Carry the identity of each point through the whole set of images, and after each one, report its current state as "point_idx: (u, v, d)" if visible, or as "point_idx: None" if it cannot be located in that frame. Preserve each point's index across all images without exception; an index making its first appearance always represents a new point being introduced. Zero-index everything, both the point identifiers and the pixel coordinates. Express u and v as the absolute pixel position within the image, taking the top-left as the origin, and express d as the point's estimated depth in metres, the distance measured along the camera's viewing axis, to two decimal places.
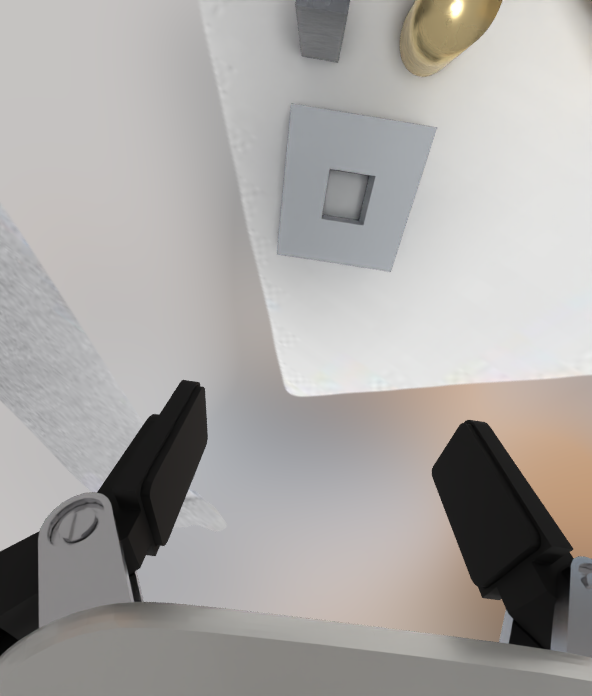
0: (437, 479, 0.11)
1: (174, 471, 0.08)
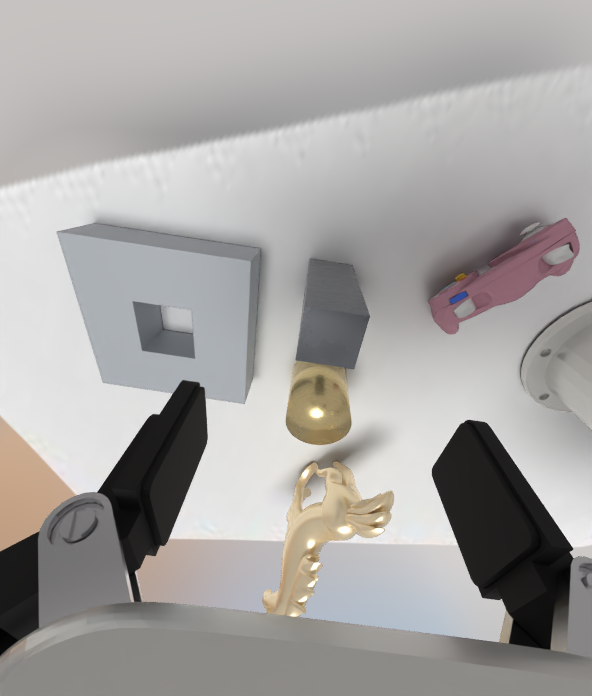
0: (437, 479, 0.11)
1: (174, 471, 0.08)
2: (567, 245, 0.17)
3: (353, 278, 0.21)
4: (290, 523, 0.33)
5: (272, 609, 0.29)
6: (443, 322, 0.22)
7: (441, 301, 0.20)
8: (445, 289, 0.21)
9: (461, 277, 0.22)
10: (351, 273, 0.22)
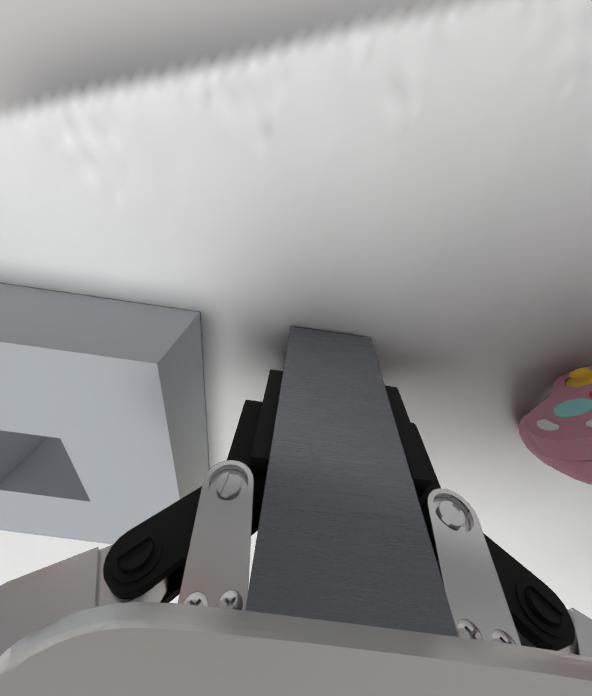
0: None
1: None
2: None
3: (379, 394, 0.09)
4: None
5: None
6: (558, 470, 0.11)
7: (572, 449, 0.10)
8: (575, 419, 0.10)
9: (586, 378, 0.12)
10: (372, 372, 0.10)
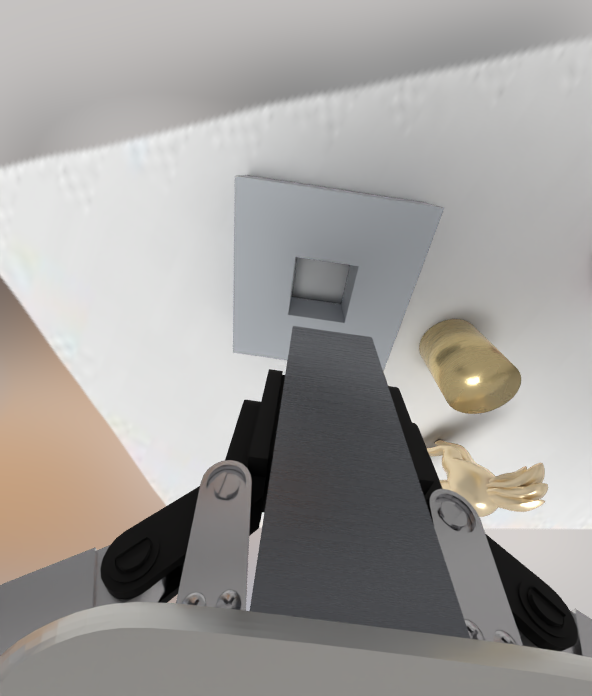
0: None
1: None
2: None
3: (382, 391, 0.10)
4: None
5: None
6: None
7: None
8: None
9: None
10: (375, 369, 0.11)
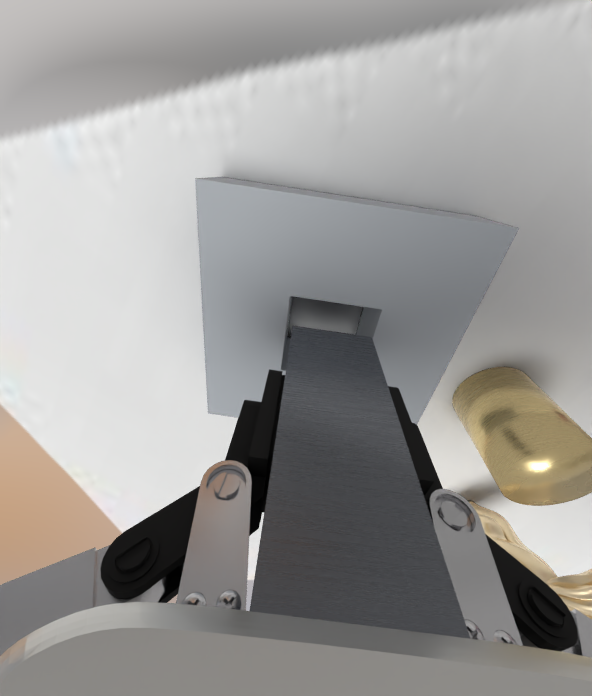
0: None
1: None
2: None
3: (382, 391, 0.10)
4: None
5: None
6: None
7: None
8: None
9: None
10: (375, 370, 0.11)
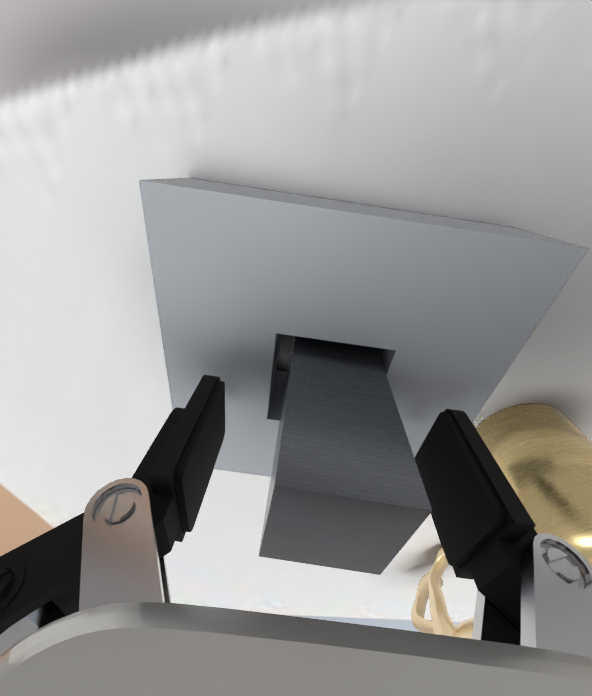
0: (419, 467, 0.11)
1: (200, 461, 0.08)
2: None
3: (373, 354, 0.12)
4: None
5: None
6: None
7: None
8: None
9: None
10: None
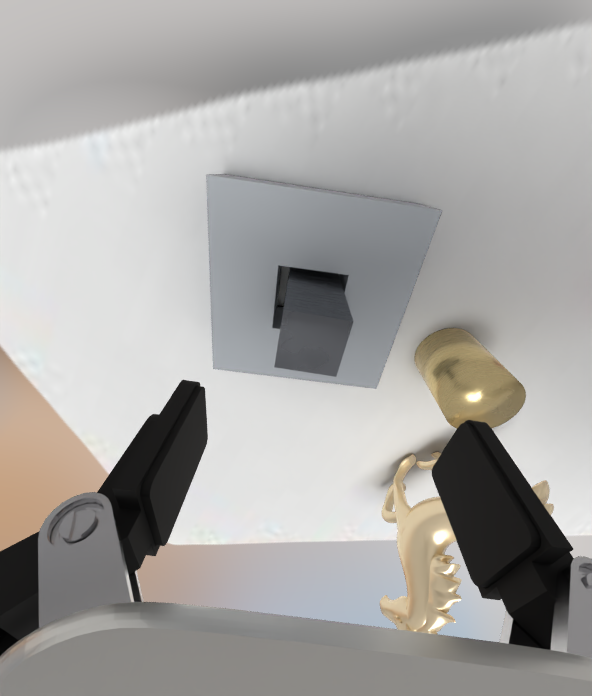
0: (437, 479, 0.11)
1: (174, 471, 0.08)
2: None
3: (336, 279, 0.20)
4: (403, 521, 0.30)
5: (404, 618, 0.26)
6: None
7: None
8: None
9: None
10: (334, 274, 0.21)
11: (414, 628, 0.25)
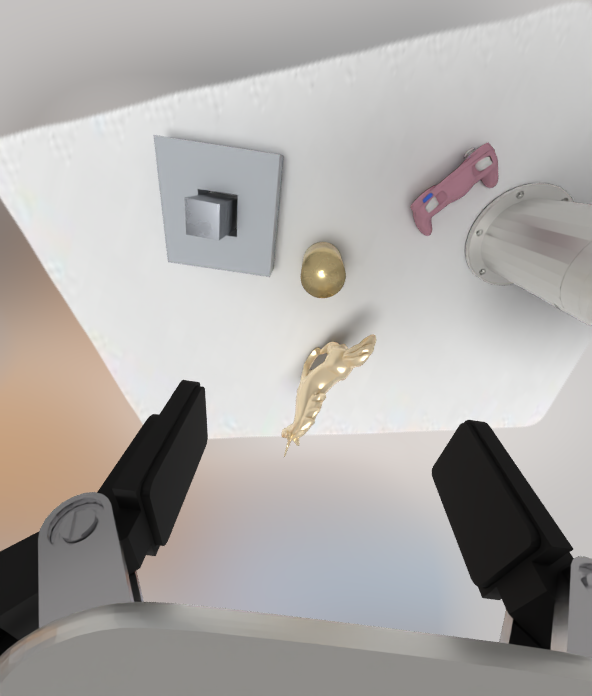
0: (437, 479, 0.11)
1: (174, 471, 0.08)
2: (488, 157, 0.29)
3: (232, 198, 0.34)
4: (301, 382, 0.44)
5: (290, 430, 0.40)
6: (420, 220, 0.34)
7: (417, 202, 0.33)
8: None
9: None
10: (234, 198, 0.35)
11: (293, 431, 0.39)
